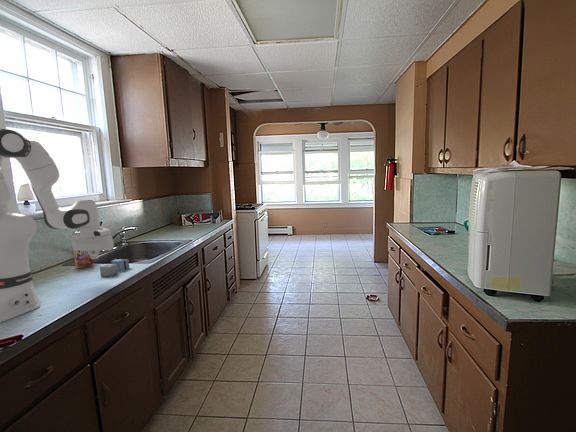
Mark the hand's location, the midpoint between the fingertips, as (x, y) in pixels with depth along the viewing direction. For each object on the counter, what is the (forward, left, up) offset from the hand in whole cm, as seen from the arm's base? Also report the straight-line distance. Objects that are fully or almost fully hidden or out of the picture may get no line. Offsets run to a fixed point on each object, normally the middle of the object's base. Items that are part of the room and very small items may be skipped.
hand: (94, 258), depth 159 cm
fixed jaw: (+20, 0, -12) cm, 23 cm away
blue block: (+17, 0, -12) cm, 20 cm away
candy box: (+24, +27, -12) cm, 38 cm away
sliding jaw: (+9, 0, -12) cm, 15 cm away
